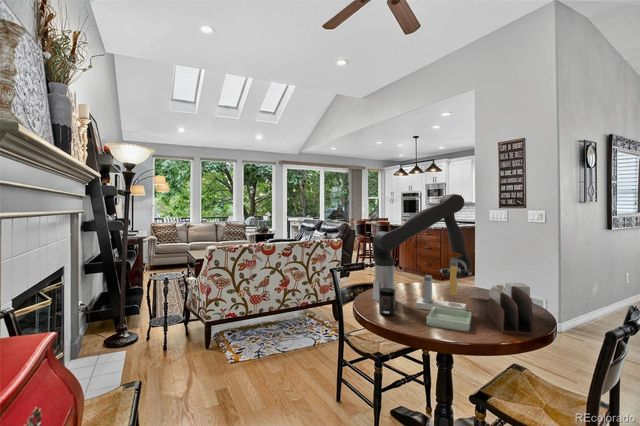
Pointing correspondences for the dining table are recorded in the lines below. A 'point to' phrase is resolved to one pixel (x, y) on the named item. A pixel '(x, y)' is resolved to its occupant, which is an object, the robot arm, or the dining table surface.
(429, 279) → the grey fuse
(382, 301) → the supplement container
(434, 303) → the block
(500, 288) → the cat figurine
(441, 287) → the dining table surface
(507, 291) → the supplement box
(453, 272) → the yellow grey long block
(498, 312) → the letter holder
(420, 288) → the dining table surface
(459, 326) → the tray
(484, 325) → the dining table surface
